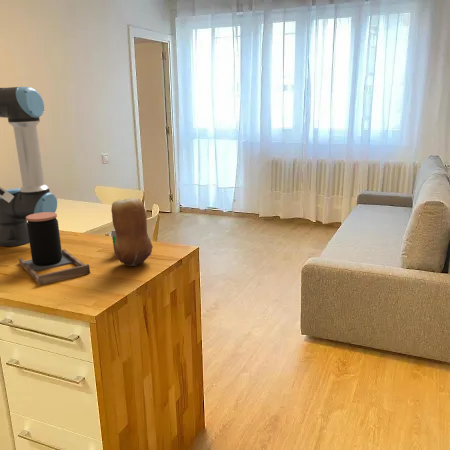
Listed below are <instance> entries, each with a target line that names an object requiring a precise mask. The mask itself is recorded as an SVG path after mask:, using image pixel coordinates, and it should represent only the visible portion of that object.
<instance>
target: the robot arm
mask: <svg viewBox="0 0 450 450" xmlns="http://www.w3.org/2000/svg"><path fill="white" fill-rule="evenodd" d="M44 111H45V102H44V100H43V98H42V95H41V93H39V92H38V90H37V89H34V88H33V87H30V86H29V87H28V86H13V87H12V86H11V87H0V118H4V119H5V118H7V121H8V124H9V125H10V126H12V127H13V133H14V140H15V146H16V152H17V158H18V165H19V171H20V178H21V183H22V185H21V187H15V188H8V189H4V188H3V187H1V186H0V247H15V246H22V245H25V244H28V243H29V244H30V242H29V235H28V228H27V222H28V221H27V219H26V217H27V216H28V215H31V214H35V213H42V212H53V213H56V211H57V209H58V199H57V196H56V195H55V194H54V193H52V192H50V187H49V185H47V184H46V183H45V176H44V171H43V170H44V169H43V163H42V156H41V149H40V141H39V135H38V128H37V127H38V125H39V123H40V120H41V119H40V117H42V115H44Z"/></svg>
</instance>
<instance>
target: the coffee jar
mask: <svg viewBox="0 0 450 450" xmlns="http://www.w3.org/2000/svg"><path fill="white" fill-rule="evenodd" d="M57 217H58V214H57V213H56V212H55V213H53V212H42V213H35V214H31V215H28V216H27V217H26V219H27V228H28V235H29V247H30V253H31V254H30V255H31V260H32V262H33V263H34V264H35V265H38V266H48V265H53V264H56V263H58V262H60V261H61V259H62V250H63V249H62V244H61V234H60V228H59V221H58V219H57Z"/></svg>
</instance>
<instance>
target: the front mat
mask: <svg viewBox="0 0 450 450" xmlns="http://www.w3.org/2000/svg"><path fill="white" fill-rule="evenodd" d="M24 261H25V262H26V263H27V264H28V265H29V266H30V267H31V268H32V269H33V270H34V271H35V272H39V271H45V270H48V269H52V268H56V267H61V266H65V265H70V264H71V265H72V264H74V263H73V261H71V260H70V259H69V258H67V257H66V256H65V255H64V254H62V259H61V261H60V262H58V263H56V264H53V265H48V266H38V265H35V264H34V263H33V262H32V259H29V260H24Z"/></svg>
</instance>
